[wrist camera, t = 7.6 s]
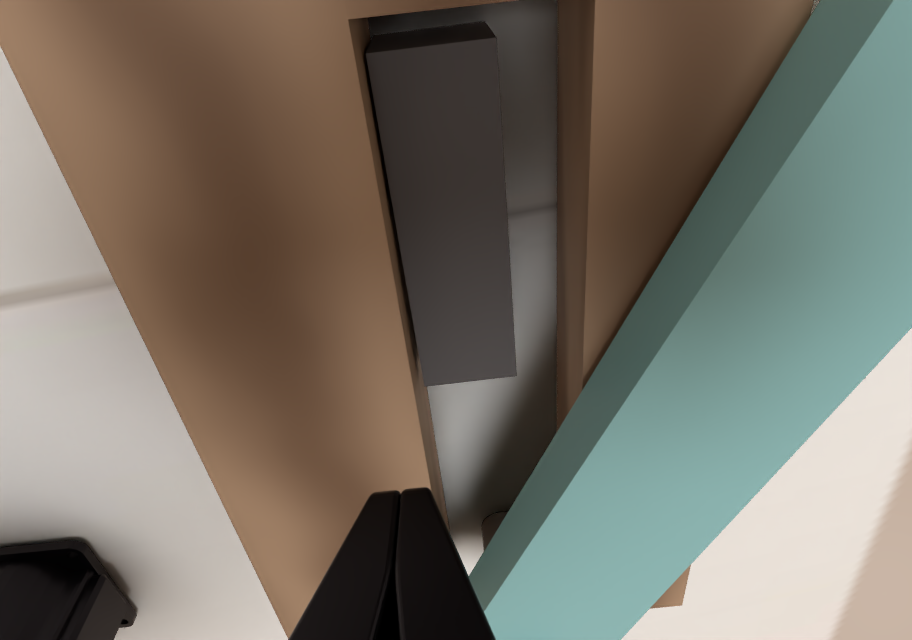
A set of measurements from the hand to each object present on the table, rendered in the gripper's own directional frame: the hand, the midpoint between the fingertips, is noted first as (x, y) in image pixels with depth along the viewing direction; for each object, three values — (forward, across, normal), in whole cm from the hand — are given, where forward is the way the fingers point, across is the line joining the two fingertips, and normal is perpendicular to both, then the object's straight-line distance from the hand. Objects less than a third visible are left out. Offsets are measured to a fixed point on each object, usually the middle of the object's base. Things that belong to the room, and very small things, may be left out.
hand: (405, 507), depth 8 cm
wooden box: (+12, -1, +6) cm, 13 cm away
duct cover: (+7, -7, +7) cm, 12 cm away
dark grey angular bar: (+11, 0, 0) cm, 11 cm away
